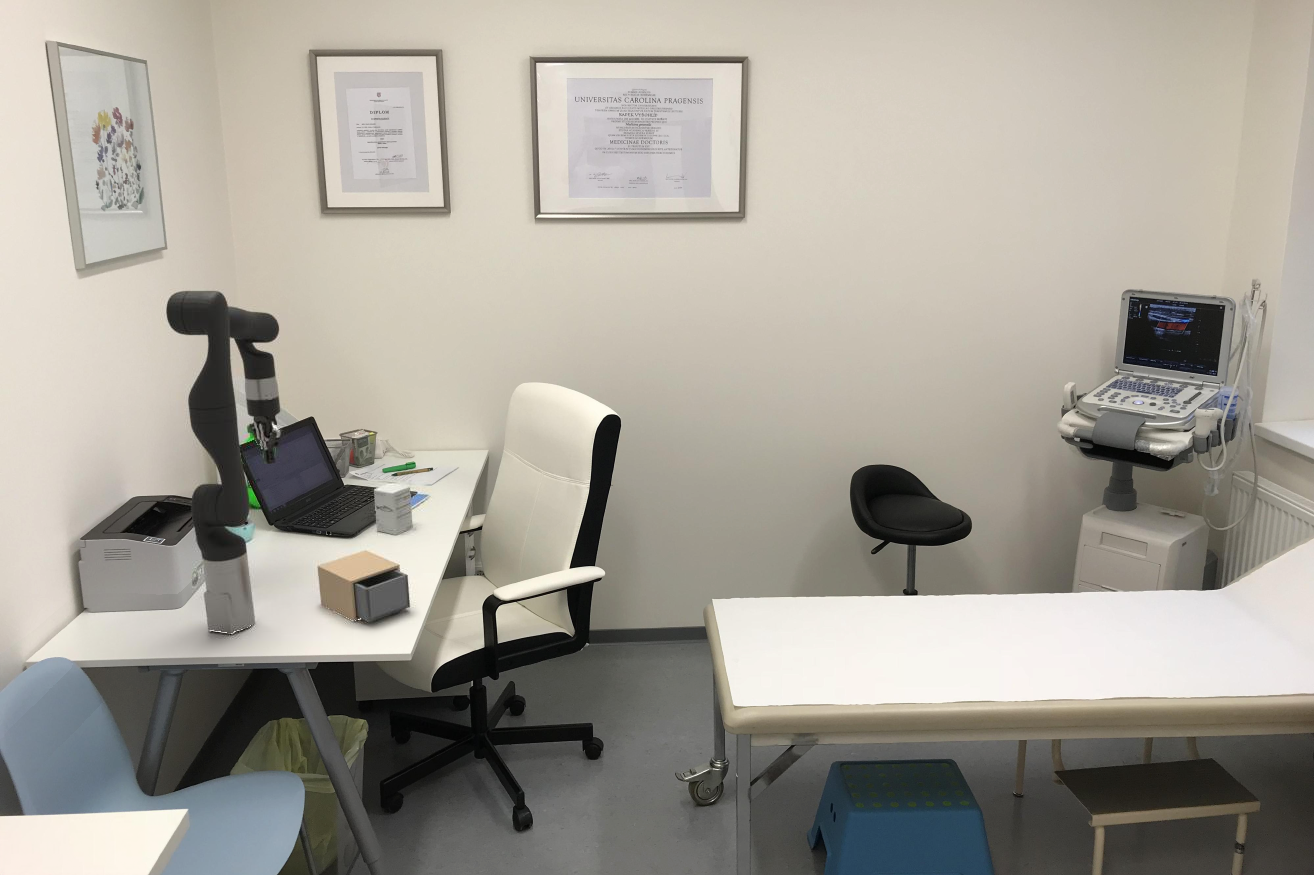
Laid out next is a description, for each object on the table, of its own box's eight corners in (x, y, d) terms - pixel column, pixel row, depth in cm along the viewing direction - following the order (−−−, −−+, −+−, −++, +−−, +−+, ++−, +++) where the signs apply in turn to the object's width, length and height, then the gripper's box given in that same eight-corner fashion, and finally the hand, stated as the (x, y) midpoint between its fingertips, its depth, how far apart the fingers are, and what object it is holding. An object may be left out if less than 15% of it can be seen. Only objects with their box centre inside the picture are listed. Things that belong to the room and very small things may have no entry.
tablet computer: (395, 495, 321) (394, 491, 321) (431, 497, 318) (431, 493, 318) (364, 515, 303) (363, 510, 302) (402, 518, 300) (402, 513, 300)
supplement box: (376, 531, 288) (372, 489, 284) (394, 523, 294) (390, 482, 291) (396, 535, 284) (392, 493, 281) (413, 527, 291) (410, 485, 287)
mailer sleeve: (321, 605, 240) (317, 565, 237) (369, 588, 249) (365, 550, 247) (354, 622, 231) (350, 581, 228) (402, 604, 240) (399, 564, 238)
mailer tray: (321, 598, 241) (318, 566, 239) (361, 584, 249) (359, 553, 247) (368, 622, 228) (366, 589, 226) (410, 606, 236) (407, 574, 234)
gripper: (234, 393, 249) (242, 461, 254) (261, 401, 240) (268, 471, 245) (263, 388, 254) (270, 455, 259) (290, 396, 246) (297, 464, 250)
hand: (269, 463), depth 252 cm, fingers closed
